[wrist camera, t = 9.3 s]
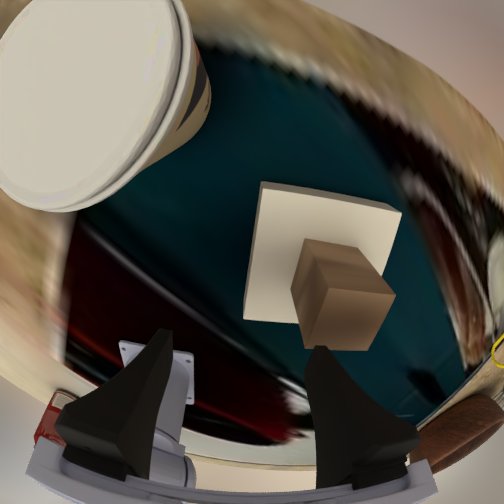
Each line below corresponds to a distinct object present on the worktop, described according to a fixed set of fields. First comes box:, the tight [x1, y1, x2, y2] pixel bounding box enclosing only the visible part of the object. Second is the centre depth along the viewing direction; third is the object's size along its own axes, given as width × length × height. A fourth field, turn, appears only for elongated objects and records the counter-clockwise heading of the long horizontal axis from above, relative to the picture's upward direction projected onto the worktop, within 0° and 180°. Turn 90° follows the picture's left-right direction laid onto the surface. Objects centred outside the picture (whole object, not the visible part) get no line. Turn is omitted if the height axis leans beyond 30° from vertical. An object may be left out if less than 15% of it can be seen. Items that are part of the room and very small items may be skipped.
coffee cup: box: [0, 0, 211, 212], centre depth 10 cm, size 9×9×12 cm
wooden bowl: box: [410, 395, 504, 475], centre depth 36 cm, size 25×25×10 cm
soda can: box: [34, 391, 78, 448], centre depth 26 cm, size 7×7×12 cm
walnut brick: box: [290, 238, 396, 350], centre depth 16 cm, size 4×4×6 cm
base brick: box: [243, 181, 402, 323], centre depth 20 cm, size 10×10×3 cm
